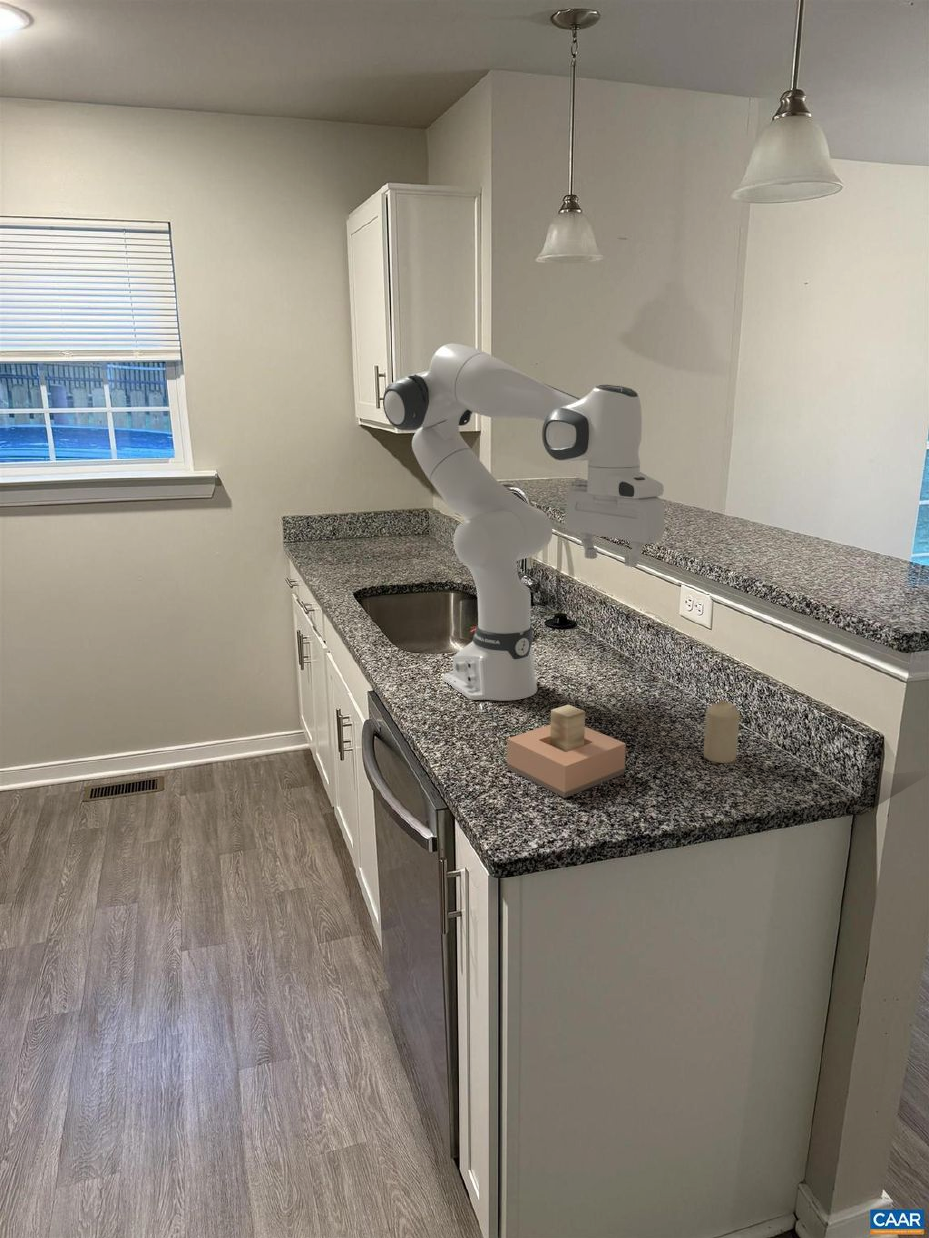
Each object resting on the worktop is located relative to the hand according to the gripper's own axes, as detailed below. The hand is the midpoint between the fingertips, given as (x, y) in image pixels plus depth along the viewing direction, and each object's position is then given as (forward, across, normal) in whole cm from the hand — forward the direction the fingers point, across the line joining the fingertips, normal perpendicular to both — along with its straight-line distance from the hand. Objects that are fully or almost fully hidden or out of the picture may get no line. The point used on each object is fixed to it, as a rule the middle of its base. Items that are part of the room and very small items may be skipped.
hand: (610, 562), depth 148 cm
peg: (+32, +6, -16) cm, 36 cm away
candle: (+33, +19, +9) cm, 39 cm away
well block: (+33, +6, -16) cm, 37 cm away
